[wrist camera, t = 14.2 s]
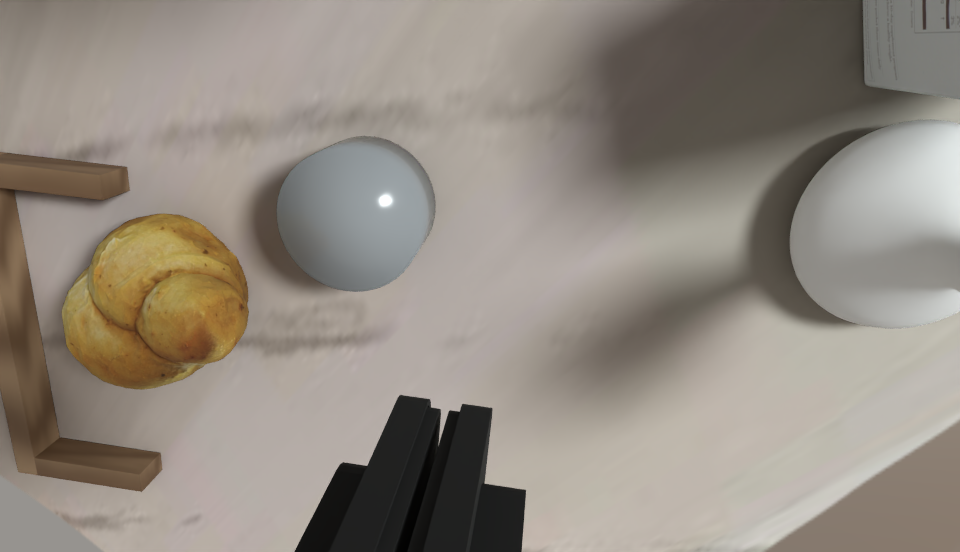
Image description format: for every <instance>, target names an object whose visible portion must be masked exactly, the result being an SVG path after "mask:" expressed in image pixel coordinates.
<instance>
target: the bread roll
mask: <svg viewBox="0 0 960 552" xmlns="http://www.w3.org/2000/svg"><path fill="white" fill-rule="evenodd" d="M67 294H68V295H67V296H66V300H65V302H64V304H63V308H62V319H63V326H64V334H65V337H66V345H67V347H68V349H69V350H70V352H71V353H72V354H73V356H74V357H75V358H76V359H77V360H78V361H79V362H80V363H81V364H82V365H84V366H85V367H86V368H87V369H88V370H89V371H90V372H91V373H92V374H93V375H95V376H97V377H98V378H99V379H101V380H103V381H105V382H107V383H110V384H113V385H116V386H121V387H125V388H131V389H150V388H156V387H160V386H163V385H166V384H170V383H173V382H176V381H179V380H182V379H184V378H186V377H188V376H190V375H191V374H193V373H194V372H195V371H196V370H198V369H200V368H202V367H203V366H204V365H205V364H207V363H211V362H216V361H219V360H221V359H223V358H224V357H225V356H226V355H227V354H229V353H230V352H231V351H232V349H233V348H234V347H235V345H236V344H237V342H238V341H239V340H240V338H241V337H242V335H243V334H244V331H245V329H246V326H247V321H248V313H249V311H248V307H247V302H248V287H247V282H246V278H245V275H244V273H243V270H242V267H241V265H240V264H239V261H238V259H237V257H236V256H235V255H234V254H233V253H232V252H230V251H229V249H228V248H227V247H226V246H225V245H224V243H222V242H221V241H220V240H219V239H217V238H216V237H215V236H214V235H213V234H212V233H211V232H210V231H208V230H207V229H206V228H205V227H204V226H203V225H202V224H200V223H198V222H196V221H194V220H192V219H189V218H186V217H184V216H181V215H172V214H155V215H150V216H145V217H139V218H135V219H132V220H129V221H127V222H125V223H124V224H122V225H121V226H120V227H119V228H117V229H115V230H114V231H112V232H111V233H109V234H108V235H107V237H106V238H105V239H104V240H103V241H102V242H101V243H100V244H99V245H98V247H97V248H96V251H95V253H94V255H93V258H92V261H91V265H90V266H89V267H88V268H87V269H85V270H84V271H83V273H82V274H81V275H80V276H79V277H78V278H77V279H76V281H75V283H74V284H73V286H72V288H71V289H70V291H69V290H68V293H67Z"/></svg>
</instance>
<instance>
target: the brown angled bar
mask: <svg viewBox="0 0 960 552" xmlns="http://www.w3.org/2000/svg"><path fill="white" fill-rule="evenodd" d="M14 189H15V190H23V191H32V192H40V193H48V194H56V195H65V196H73V197H81V198H89V199H98V200H105V199H108V198H110V197H113V196H116V195H119V194H121V193H124V192H127V191H130V189H129V181H128V172H127V167H123V166H114V165H106V164H97V163H88V162H80V161H71V160H63V159H54V158H45V157H37V156H28V155H20V154H11V153H2V152H0V390H1V395H2V400H3V404H4V409H5V413H6V418H7V423H8V427H9V432H10V436H11V441H12V445H13V450H14V455H15V459H16V464H17V468H18V472H21V473H28V474H34V475H40V476H46V477H53V478H59V479H65V480H72V481H78V482H84V483H91V484H97V485H103V486H109V487H116V488H122V489H128V490H135V491H141V492H142V491H143V490H144V489H145V488H146V487H147V486H148V484H149V483H150V482H151V481H152V480H153V479H154V478H155V477H156V476H157V475H158V474H159V472H160V471H161V470H162V463H161V454H160V453H157V452H151V451H144V450H138V449H131V448H125V447H118V446H111V445H105V444H98V443H92V442H85V441H79V440H72V439H66V438H60V437H59V431H58V426H57V420H56V415H55V410H54V404H53V399H52V393H51V388H50V382H49V377H48V372H47V366H46V361H45V355H44V350H43V345H42V339H41V334H40V328H39V323H38V318H37V312H36V307H35V301H34V296H33V291H32V285H31V280H30V274H29V269H28V264H27V258H26V253H25V247H24V242H23V237H22V231H21V226H20V220H19V215H18V210H17V204H16V199H15V193H14Z"/></svg>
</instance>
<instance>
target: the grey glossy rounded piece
mask: <svg viewBox="0 0 960 552" xmlns="http://www.w3.org/2000/svg"><path fill="white" fill-rule="evenodd" d="M434 218H435V195H434V191H433V187H432V184H431V182H430V179H429V177H428V175H427V173H426V172H425V170H424V168H423V167H422V166H421V164H420V163H419V162H418V161H417V160H416V158H415V157H414V156H413V155H411V154H410V153H409V152H408V151H407V150H405V149H404V148H402V147H401V146H399V145H397V144H395V143H393V142H391V141H388V140H385V139H382V138H377V137H371V136H360V137H353V138H348V139H345V140H343V141H340V142H338V143H336V144H334V145H332V146H329V147H327V148H325V149H323V150H321V151H319V152H317V153H315V154H313V155H311V156H309V157H307V158H306V159H304V160H303V161H301V162H300V163H299V164H297V165H296V166H295V167H294V168H293V170H292V171H291V172H290V173H289V175H288V176H287V177H286V179H285V181H284V183H283V185H282V187H281V190H280V193H279V196H278V201H277V224H278V229H279V233H280V236H281V239H282V241H283V243H284V245H285V247H286V250H287V251H288V253H289V254H290V256H291V257H292V259H293V260H294V261H295V262H296V264H297V265H298V266H299V267H300V268H301V269H302V270H303V271H304V272H306V273H307V274H308V275H310V276H311V277H312V278H314V279H315V280H317V281H319V282H320V283H323V284H325V285H327V286H329V287H332V288H335V289H339V290H344V291H354V292H358V291H368V290H373V289H377V288H380V287H382V286H384V285H386V284H389V283H390V282H392V281H393V280H395V279H396V278H397V277H399V276H400V275H401V274H402V273H403V272H404V271H405V270H406V268H407V267H408V266H409V265H410V263H411V261H412V260H413V258H414V257H415V255H416V254H417V252H418V251H419V249H420V248H421V246H422V245H423V243H424V242H425V240H426V239H427V237H428V235H429V233H430V231H431V229H432V226H433V222H434Z"/></svg>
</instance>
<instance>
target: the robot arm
mask: <svg viewBox="0 0 960 552" xmlns="http://www.w3.org/2000/svg"><path fill="white" fill-rule="evenodd" d="M440 417H441V410H440V409H436V408H431V402H430V399H424V398H417V397H410V396H403V395H400V396H399V397H398V399H397V401H396V403H395V405H394V408H393V410H392V412H391V414H390V417H389V419H388V421H387V423H386V426H385V428H384V430H383V432H382V435H381V437H380V439H379V441H378V443H377V446H376V448H375V450H374V452H373V455H372V457H371V459H370V461H369V464H368V466H363V465H357V464H350V463H344V462H343V463H342V464H340V465H339V467H338V469H337V470H336V472H335V474H334V476H333V478H332V480H331V482H330V484H329V486H328V488H327V489H326V491H325V493H324V495H323V497H322V499H321V501H320V503H319V505H318V507H317V509H316V511H315V513H314V515H313V517H312V519H311V521H310V523H309V524H308V526H307V528H306V530H305V532H304V534H303V536H302V538H301V540H300V542H299V544H298V546H297V548H296V550H295V552H521V550H522V537H523V524H524V510H525V497H526V490H522V489H515V488H509V487H502V486H495V485H489V484H484V482H485V473H486V464H487V455H488V446H489V437H490V428H491V419H492V408H488V407H481V406H474V405H467V404H462V407H461V410H460V412H457V411H449V413H448V416H447V420H446V423H445V426H444V430H443V433H442V436H441V440H440V443H439V430H440ZM438 444H439V447H438Z"/></svg>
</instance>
